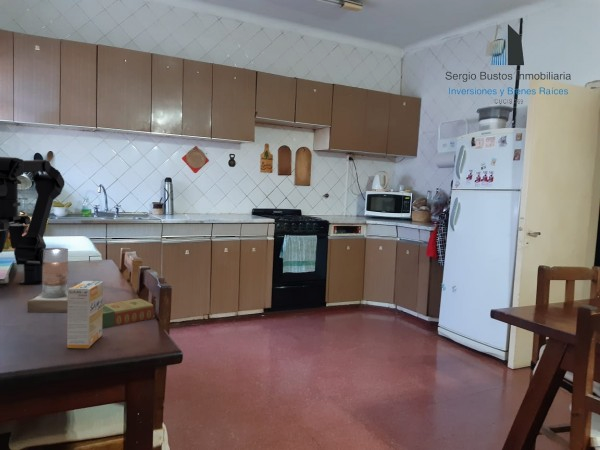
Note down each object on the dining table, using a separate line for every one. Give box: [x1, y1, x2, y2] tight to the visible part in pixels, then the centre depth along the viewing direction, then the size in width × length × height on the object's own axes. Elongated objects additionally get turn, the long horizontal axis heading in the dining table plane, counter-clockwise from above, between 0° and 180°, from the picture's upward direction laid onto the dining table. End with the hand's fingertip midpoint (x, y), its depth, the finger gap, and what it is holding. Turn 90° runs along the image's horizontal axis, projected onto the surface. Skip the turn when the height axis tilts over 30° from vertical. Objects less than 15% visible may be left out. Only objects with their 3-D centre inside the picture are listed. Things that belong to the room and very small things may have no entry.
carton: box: [102, 298, 155, 329], centre depth 115 cm, size 8×16×4 cm, turn 135°
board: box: [26, 291, 68, 313], centre depth 123 cm, size 10×10×3 cm
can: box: [41, 247, 69, 298], centre depth 123 cm, size 6×6×13 cm
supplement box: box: [66, 280, 104, 349], centre depth 98 cm, size 8×5×13 cm, turn 5°
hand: (6, 250), depth 135 cm, fingers open, 9 cm apart
